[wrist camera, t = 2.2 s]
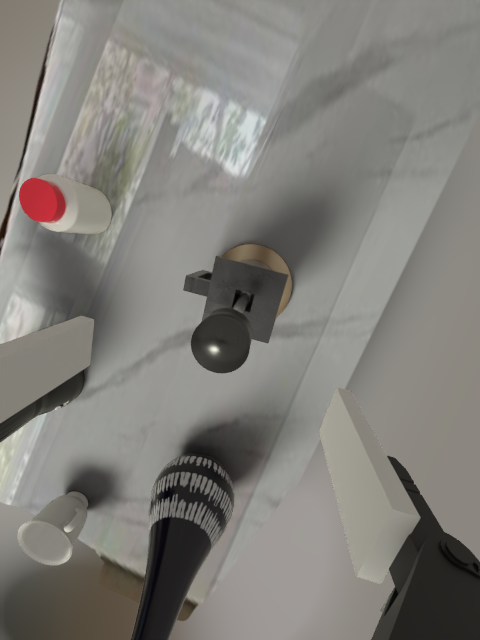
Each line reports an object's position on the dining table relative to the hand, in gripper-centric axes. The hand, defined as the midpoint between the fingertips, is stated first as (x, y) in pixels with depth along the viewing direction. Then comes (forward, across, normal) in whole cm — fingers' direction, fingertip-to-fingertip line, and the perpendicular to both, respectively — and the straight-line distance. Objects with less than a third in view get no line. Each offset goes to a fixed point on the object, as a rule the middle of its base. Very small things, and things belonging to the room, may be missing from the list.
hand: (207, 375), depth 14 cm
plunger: (+24, 0, 0) cm, 24 cm away
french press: (+33, -2, 0) cm, 33 cm away
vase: (+34, 0, -41) cm, 54 cm away
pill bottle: (+34, -30, +5) cm, 46 cm away
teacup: (+34, -27, -60) cm, 74 cm away
